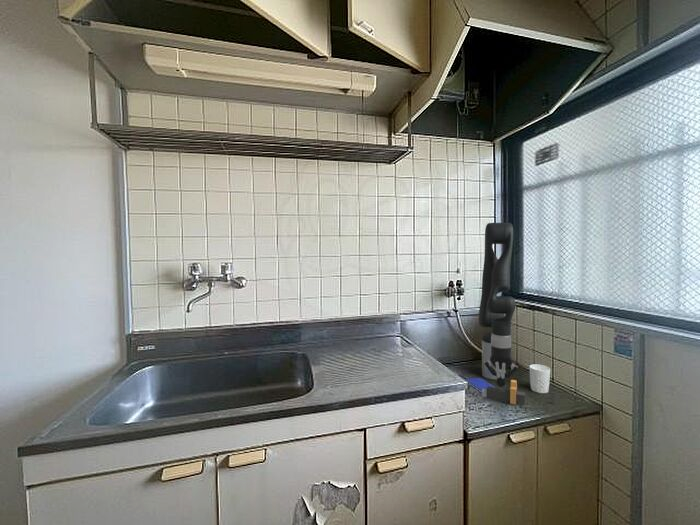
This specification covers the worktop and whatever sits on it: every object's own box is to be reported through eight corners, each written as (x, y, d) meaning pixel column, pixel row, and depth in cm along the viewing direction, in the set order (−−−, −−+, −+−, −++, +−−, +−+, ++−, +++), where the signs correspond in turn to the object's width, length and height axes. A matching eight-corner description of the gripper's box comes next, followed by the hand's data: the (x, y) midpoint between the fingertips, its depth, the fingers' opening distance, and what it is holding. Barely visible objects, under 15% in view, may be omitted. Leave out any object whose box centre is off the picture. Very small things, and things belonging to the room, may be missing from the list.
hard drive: (498, 388, 145) (480, 377, 157) (481, 390, 143) (465, 379, 156) (498, 391, 145) (480, 380, 158) (481, 393, 144) (465, 382, 156)
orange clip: (511, 397, 138) (511, 377, 138) (516, 398, 137) (517, 378, 137) (510, 403, 133) (510, 383, 132) (515, 404, 132) (515, 384, 131)
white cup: (553, 391, 144) (554, 368, 143) (543, 395, 140) (544, 372, 139) (535, 384, 151) (535, 363, 150) (525, 389, 146) (525, 366, 146)
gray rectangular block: (482, 394, 142) (482, 385, 142) (524, 402, 134) (524, 392, 134) (481, 397, 140) (481, 387, 140) (524, 405, 132) (524, 395, 131)
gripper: (519, 344, 136) (519, 386, 137) (485, 340, 143) (485, 379, 144) (518, 349, 129) (518, 393, 130) (482, 345, 136) (482, 386, 137)
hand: (500, 386), depth 137 cm, fingers closed
